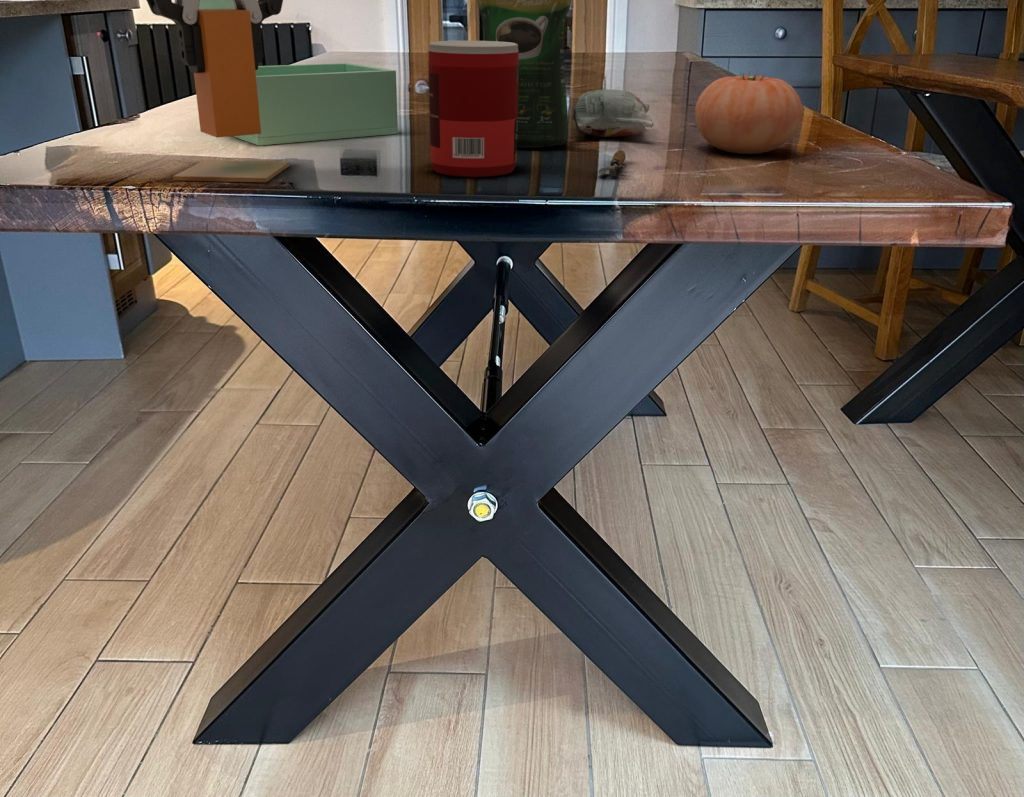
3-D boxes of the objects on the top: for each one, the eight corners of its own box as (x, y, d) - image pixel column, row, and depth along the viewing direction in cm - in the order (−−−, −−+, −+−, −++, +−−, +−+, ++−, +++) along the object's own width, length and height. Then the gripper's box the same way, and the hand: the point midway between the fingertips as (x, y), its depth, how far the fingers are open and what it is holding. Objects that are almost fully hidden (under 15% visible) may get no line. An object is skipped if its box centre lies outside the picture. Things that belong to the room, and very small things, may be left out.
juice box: (216, 137, 81) (202, 10, 77) (200, 131, 84) (186, 9, 80) (261, 133, 83) (250, 10, 79) (244, 128, 86) (232, 8, 82)
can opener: (614, 161, 93) (615, 148, 92) (638, 162, 92) (639, 150, 92) (594, 177, 85) (595, 164, 84) (620, 179, 84) (621, 166, 84)
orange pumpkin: (819, 156, 98) (831, 74, 95) (739, 163, 93) (748, 78, 90) (747, 141, 107) (756, 65, 103) (670, 147, 102) (676, 68, 98)
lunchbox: (350, 121, 116) (347, 62, 114) (398, 133, 108) (396, 70, 105) (218, 131, 107) (211, 67, 105) (258, 145, 99) (252, 76, 96)
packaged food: (648, 128, 114) (650, 85, 112) (651, 144, 104) (654, 96, 102) (575, 127, 115) (576, 84, 113) (571, 142, 104) (572, 95, 102)
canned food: (533, 172, 87) (536, 44, 83) (461, 181, 83) (460, 46, 78) (484, 160, 93) (484, 39, 89) (414, 167, 88) (411, 41, 84)
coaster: (173, 180, 81) (173, 175, 81) (204, 164, 89) (204, 159, 89) (266, 182, 81) (266, 177, 81) (289, 166, 89) (289, 161, 88)
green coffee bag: (570, 140, 105) (577, -46, 98) (564, 151, 98) (571, -48, 91) (483, 137, 106) (483, -47, 99) (471, 148, 99) (471, -49, 92)
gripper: (266, -148, 81) (283, 64, 88) (92, -163, 74) (125, 71, 80) (304, -157, 76) (319, 71, 83) (119, -174, 68) (153, 78, 75)
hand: (223, 69), depth 82 cm, fingers closed on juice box, 4 cm apart
